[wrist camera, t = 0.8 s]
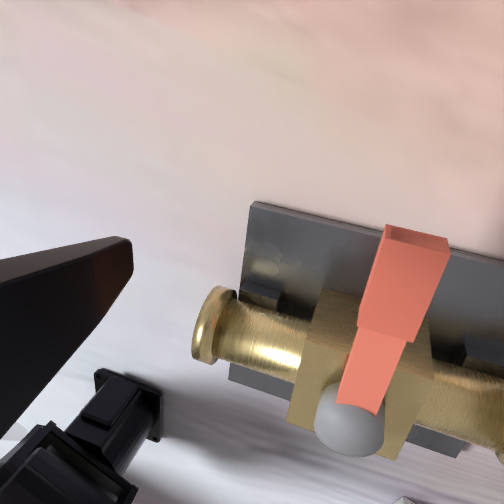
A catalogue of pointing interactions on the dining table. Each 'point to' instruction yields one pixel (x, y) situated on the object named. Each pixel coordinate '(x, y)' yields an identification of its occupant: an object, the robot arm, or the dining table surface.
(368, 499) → the dining table surface
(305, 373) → the valve body
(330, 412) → the lever
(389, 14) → the dining table surface
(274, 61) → the dining table surface
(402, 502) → the skincare box
